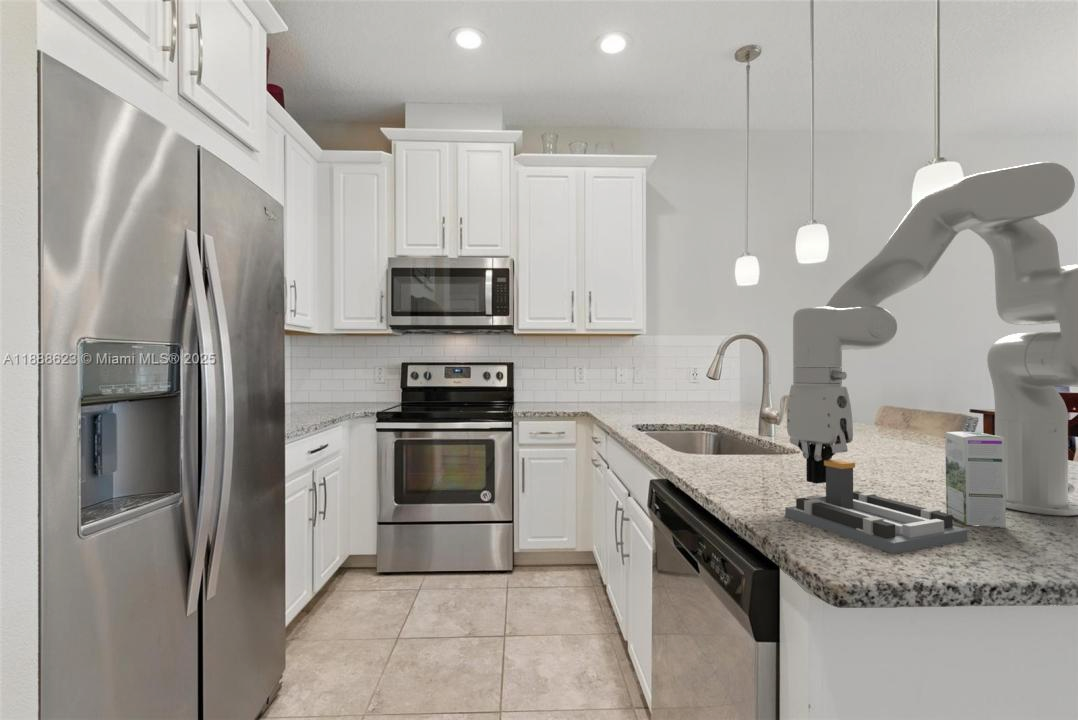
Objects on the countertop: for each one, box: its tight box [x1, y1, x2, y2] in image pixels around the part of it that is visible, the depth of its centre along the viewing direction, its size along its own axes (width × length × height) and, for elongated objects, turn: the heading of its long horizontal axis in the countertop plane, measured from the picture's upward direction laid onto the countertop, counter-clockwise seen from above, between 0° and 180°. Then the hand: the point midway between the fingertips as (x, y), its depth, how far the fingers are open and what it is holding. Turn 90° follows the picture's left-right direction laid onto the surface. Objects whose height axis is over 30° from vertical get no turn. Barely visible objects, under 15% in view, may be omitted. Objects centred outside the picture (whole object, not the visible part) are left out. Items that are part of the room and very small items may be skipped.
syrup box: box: [944, 430, 1007, 529], centre depth 82 cm, size 6×6×14 cm
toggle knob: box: [824, 458, 856, 509], centre depth 84 cm, size 3×3×8 cm
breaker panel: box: [784, 493, 969, 555], centre depth 79 cm, size 16×18×3 cm
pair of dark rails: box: [795, 490, 954, 539], centre depth 79 cm, size 15×15×2 cm
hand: (817, 481), depth 88 cm, fingers closed
